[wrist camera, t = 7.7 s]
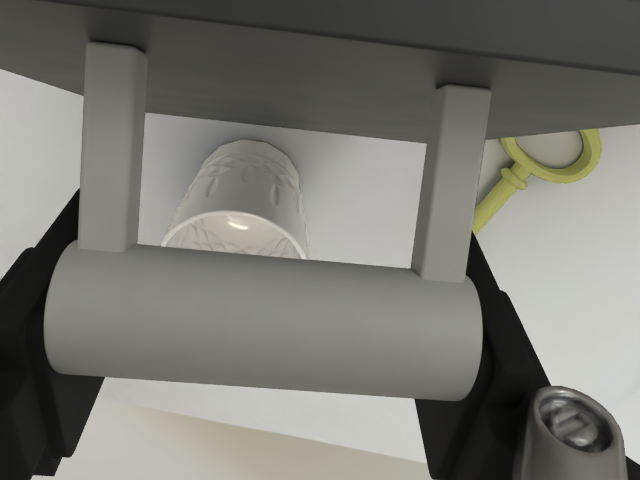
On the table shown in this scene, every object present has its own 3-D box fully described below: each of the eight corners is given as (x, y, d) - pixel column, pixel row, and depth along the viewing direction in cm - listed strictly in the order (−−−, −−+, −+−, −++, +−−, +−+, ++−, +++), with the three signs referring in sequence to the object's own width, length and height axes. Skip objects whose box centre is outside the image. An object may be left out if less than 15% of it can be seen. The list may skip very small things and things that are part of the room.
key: (434, 242, 39) (440, 260, 37) (514, 77, 32) (527, 88, 30) (523, 264, 40) (533, 282, 38) (618, 109, 33) (636, 122, 32)
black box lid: (-381, -144, 5) (-341, 423, 6) (873, 31, 6) (765, 489, 7) (127, 89, 21) (120, 229, 22) (441, 125, 22) (423, 257, 23)
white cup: (287, 114, 33) (280, 192, 25) (323, 218, 37) (328, 315, 29) (169, 149, 34) (125, 235, 26) (218, 247, 38) (193, 347, 30)
